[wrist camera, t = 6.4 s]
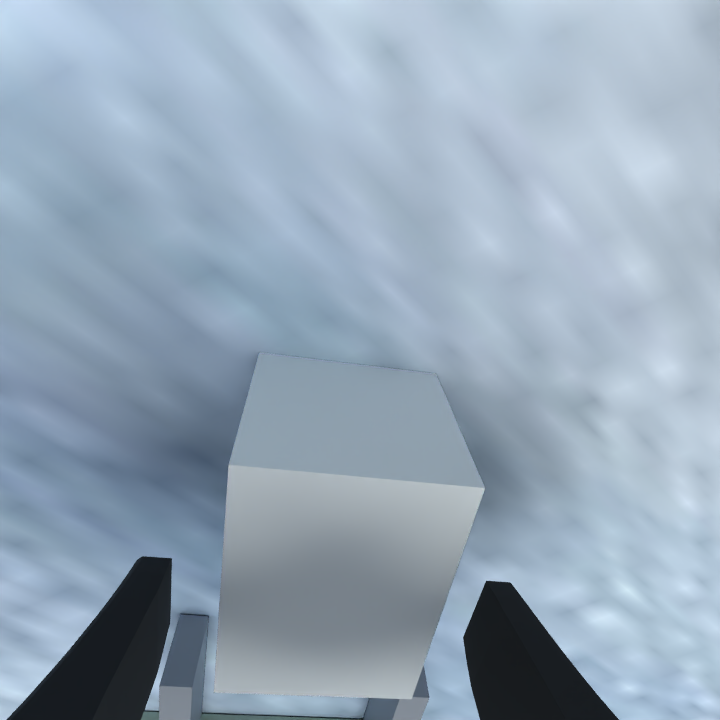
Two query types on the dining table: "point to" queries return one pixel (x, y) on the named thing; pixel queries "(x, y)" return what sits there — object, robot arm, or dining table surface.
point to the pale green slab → (185, 715)
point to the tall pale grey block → (340, 529)
